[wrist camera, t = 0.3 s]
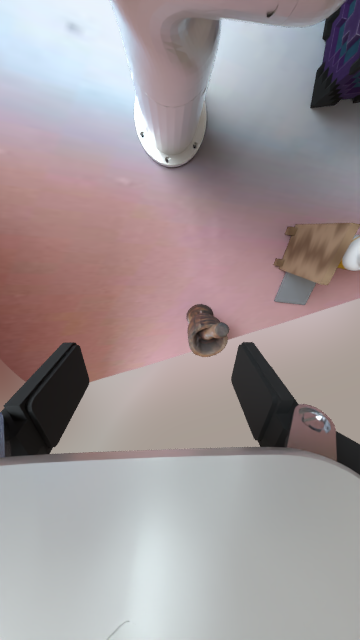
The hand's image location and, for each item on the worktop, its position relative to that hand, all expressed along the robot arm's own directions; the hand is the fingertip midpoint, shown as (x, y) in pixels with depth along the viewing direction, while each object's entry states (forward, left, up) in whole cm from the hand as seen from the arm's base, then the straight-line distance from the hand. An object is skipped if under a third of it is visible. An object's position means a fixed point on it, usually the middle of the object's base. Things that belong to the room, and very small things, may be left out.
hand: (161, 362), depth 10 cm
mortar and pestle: (+12, +10, -36) cm, 40 cm away
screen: (-7, +29, -36) cm, 47 cm away
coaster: (+2, +35, -36) cm, 50 cm away
